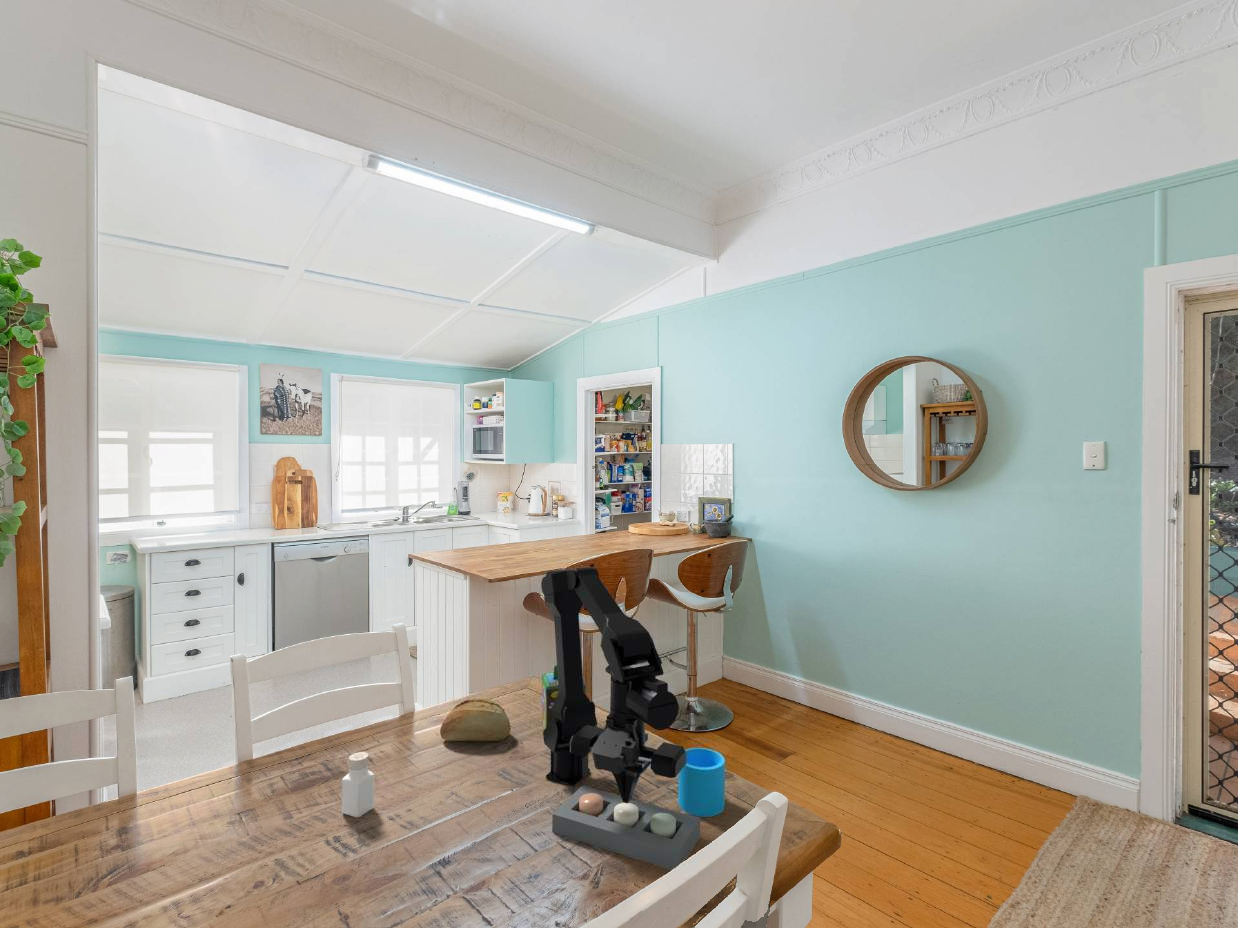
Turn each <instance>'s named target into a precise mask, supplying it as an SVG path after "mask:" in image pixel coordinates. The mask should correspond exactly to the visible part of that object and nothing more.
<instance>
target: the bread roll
mask: <svg viewBox="0 0 1238 928" xmlns="http://www.w3.org/2000/svg"><path fill="white" fill-rule="evenodd" d="M511 731H512V730H511V723H510V719H509V717H508V715H507V713H506V711H505V709H504V708H503V707H502V706H501V705H500V704H499V703H498V702H496V701H494V700H491V699H485V698H472V699H467V700H464V701H461V702H460V703H458V704H456V705H455V707H453V709H452V710H451V711H450V712H448V714H447V715H446V717H445V719H444V720H443V721H442V723H441V725H440V729H439V734H440V737H441V739H442V740H445V741H446V742H462V741H463V742H465V741H466V742H469V741H471V742H477V741H478V742H496V741H497V742H499V741H503V740H504V739H506V738H507V737H508V736H509V735H510V732H511Z"/></svg>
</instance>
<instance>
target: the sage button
mask: <svg viewBox="0 0 1238 928" xmlns="http://www.w3.org/2000/svg"><path fill="white" fill-rule="evenodd" d="M651 833H652V834H655V835H659V836H662V837H665V838H669V839H673V838H674V836H675V835H676V819H675V817H674V816H672V815H671V814H668V813H657V814H654V815H653V816H652V817H651Z"/></svg>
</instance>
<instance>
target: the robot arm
mask: <svg viewBox="0 0 1238 928" xmlns="http://www.w3.org/2000/svg"><path fill="white" fill-rule="evenodd" d="M540 586H541V588H540V589H541V591H542V594H543V597H544V598H543V599H544V604H545V606H546V607H547V608H548V610H549V611H550V612H551V614H552V616H553V621H554V623H553V624H554V636H555V637H554V638H555V639H554V640H555V653H556V665H557V672H558V688H559V693H558V696H557V698H556V700H555V702H554V704H553V706H552V708H551V721H550V723H549V724H548V725H547V727H546V728H545V730H543V731H542V736H543V737H542V738H543V743H544V745H545V746H546V747H547V748H548V749H549V750H550V768H549V769H550V772H547V774H546V775H545V778H546V780H550V781H553V782H558V783H562V784H565V785H568V786H571V787H574V786H575V787H576V786H577V785H578V784H579V783H580V782H581V781H582V780H583V779H584V778H585V777H586V776H588V775H589V774H590V773H591V769H590V768H589V753H591V754H592V760H593V764H594V768H595V769H596V770H598V771H601V770H602V771H607V772H610V773H612V775H613V779H614V780H615V783H616V785H617V789H618V792H619V793H620V794H619V796H621V798H622V801H623V803H627V804H628V803H629V802H630V800H631V799H632V797H633V794H634V792H635V789H636V787H637V784H638V782H639V779H640V777H641V775H642V774H643V773H644V772H645V771H646V770H647V769H648V768H649V766H650V770H651V771H652V772H653V773H654V775H657V776H661V777H665V778H669V779H674V778H676V777H677V776H679V772H680V771H681V770H682V768H683V767H684V766H685V765H686V763H687V753H686V751H685V750H686V749H685V747H684V746H682V745H680V744H679V745H678V744H673V743H670V742H666V741H665V742H664V741H663V742H662V743H661V744H660V745H659V746H658V747H657V748H653V747H654V746H651V745H646V743H647V741H649V734H648V733H646V724H647V725H648V726H649V727H650V728H652V729H654V730H655V731H664V730H666V729H668V728H670V727H671V726H672V725H673V724H674V722H675V721H676V719H677V717H678V715H679V710H680V709H679V708H680V705H679V702H678V699H677V697H676V696H675V694H674V693H672V691H669V684H668V682H667V681H664V680H661V679H658V678H657V677H659V676H664V669H663V666H662V664H663V662H662V659H661V657H660V655H659V653H658V651H657V649H656V646H655V642H654V640H653V638H652V636H651V634H650V632H649V631H648V630H647V629H646V628H645V626H644V625H642V623H641V622H640V621H638V620H637V619H634V618H633V617H630V616H628V615H626V613H624V612H623V610H622V609H621V608H620V605H619V604H618V603H617V602H616V600H615V598H614V597H613V595H612V594H611V593H610V591H609V589H608V588H607V587H606V585H605V584H604V583H603V580H601V578H600V574H599V571H598V569H597V568H596V567H593V566H582V567H573V568H567V569H566V568H565V569H552V570H549V571H547V572H546V574H545V576H544V577H542V580H541V583H540ZM583 606H584V607H585V609H586V611H587V612H588V614H589V616H590V617H591V619H592V621H593V623H594V624H595V625H596V627H597V629H598V630H599V632H600V634H601V640H600V647H601V650H602V652H603V656H604V658H605V660H606V663H607V664H608V665H607V666H606V667H605V668H604V669H605V670H604V671H605V672H606V673H607V674H609V675H610V696H609V697H610V698H609V699H610V702H609V703H610V704H609V708H610V709H609V711H610V712H609V714H607V715H606V719H605V726H604V728H602V727H598V720H597V716H596V704H595V702H594V701H591V700H590V698H589V697H588V696H587V693H586V694H585V692H584V684H583V679H584V676H583V675H584V673H583V671H584V670H583V659H582V658H583V656H582V643H581V630H580V627H581V626H580V612H581V610H582V608H583ZM647 663H648V664H647ZM641 664H647V665H641ZM636 665H641V666H636ZM633 666H634V667H633Z"/></svg>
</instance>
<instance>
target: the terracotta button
mask: <svg viewBox="0 0 1238 928" xmlns="http://www.w3.org/2000/svg"><path fill="white" fill-rule="evenodd" d="M579 812H581V813H584V814H588V815H591V816H595V817H598V816H599V815H600V814H601V813H602V812H603V797H602V796H600V795H599V794H595V793H588V794H584V795H582V796H581V797H580V799H579Z"/></svg>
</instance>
